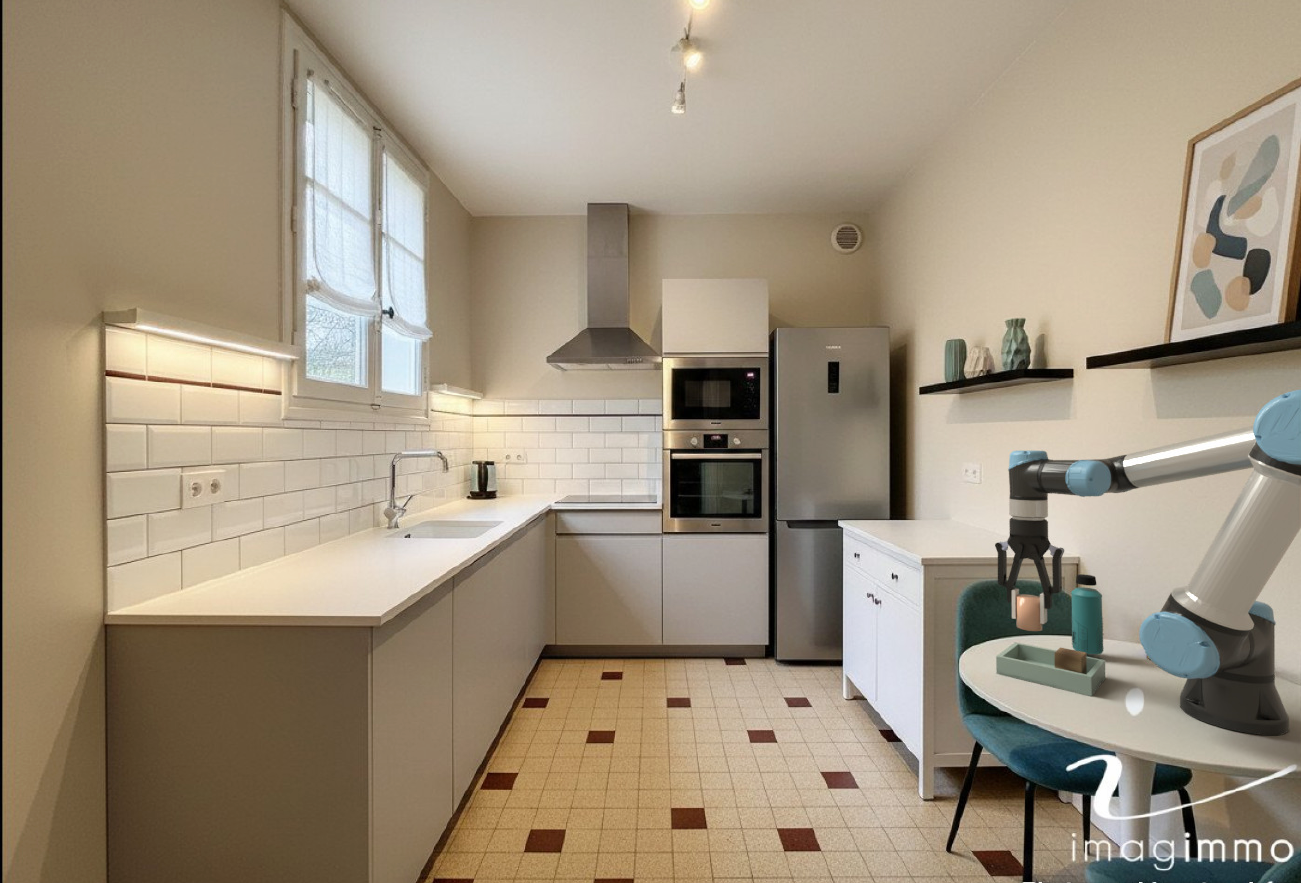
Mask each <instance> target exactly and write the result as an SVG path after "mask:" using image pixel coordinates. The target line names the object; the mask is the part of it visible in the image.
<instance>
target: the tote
mask: <svg viewBox="0 0 1301 883" xmlns="http://www.w3.org/2000/svg"><path fill="white" fill-rule="evenodd" d="M1057 650H1058V649H1057ZM1057 650H1056V649H1051V648H1046V647H1041V646H1036V645H1031V644H1028V643H1027V644H1026V643H1021V642H1013V643H1012V644H1010V645H1009V646H1008V647H1007V648H1005V649H1004V650H1003V651H1001V652H999V654H997V655H996V656H995V658H996V660H995V661H996V663H995V664H996V669H995V671H996V674H997V675H1000V676H1005V677H1008V678H1009V677H1010V678H1014V679H1018V680H1022V681H1026V682H1029V683H1034V684H1038V685H1042V686H1047V687H1050V688H1055V689H1059V690H1063V691H1067V692H1070V693H1075V694H1080V695H1084V696H1088V697H1092V696H1093V695H1094V694H1095V692H1097V690H1098V688H1099V687H1100V686H1101V685H1102V683H1103V682H1104V681H1105V679H1106V660H1105V659H1101V658H1095V657H1091V656H1087V675H1086V674H1082V673H1077V672H1073V671H1068V670H1063V669H1059V668H1055V652H1056V651H1057Z"/></svg>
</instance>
